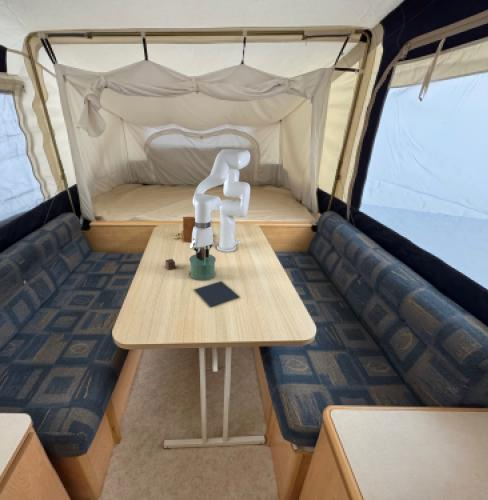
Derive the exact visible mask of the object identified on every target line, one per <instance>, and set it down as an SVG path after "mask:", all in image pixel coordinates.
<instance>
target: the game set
mask: <svg viewBox="0 0 488 500" xmlns="http://www.w3.org/2000/svg"><path fill="white" fill-rule="evenodd" d="M194 227H195V215H194V216H182V231H181V234H182V242H185V243H186V242H188V243H189V242H192V232H193V228H194ZM174 233H175V234H174V236H175V237H174V239H176V240H178V239H180V237H179V234H180V233H179V232H174ZM214 237H215V234H213V238H214Z"/></svg>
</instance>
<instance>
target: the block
mask: <svg viewBox="0 0 488 500" xmlns="http://www.w3.org/2000/svg"><path fill="white" fill-rule="evenodd" d="M165 267H166V268H167V270H168V271H169V270H172V269H176V261H175V260H174V259H173V258H169V259H165Z"/></svg>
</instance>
